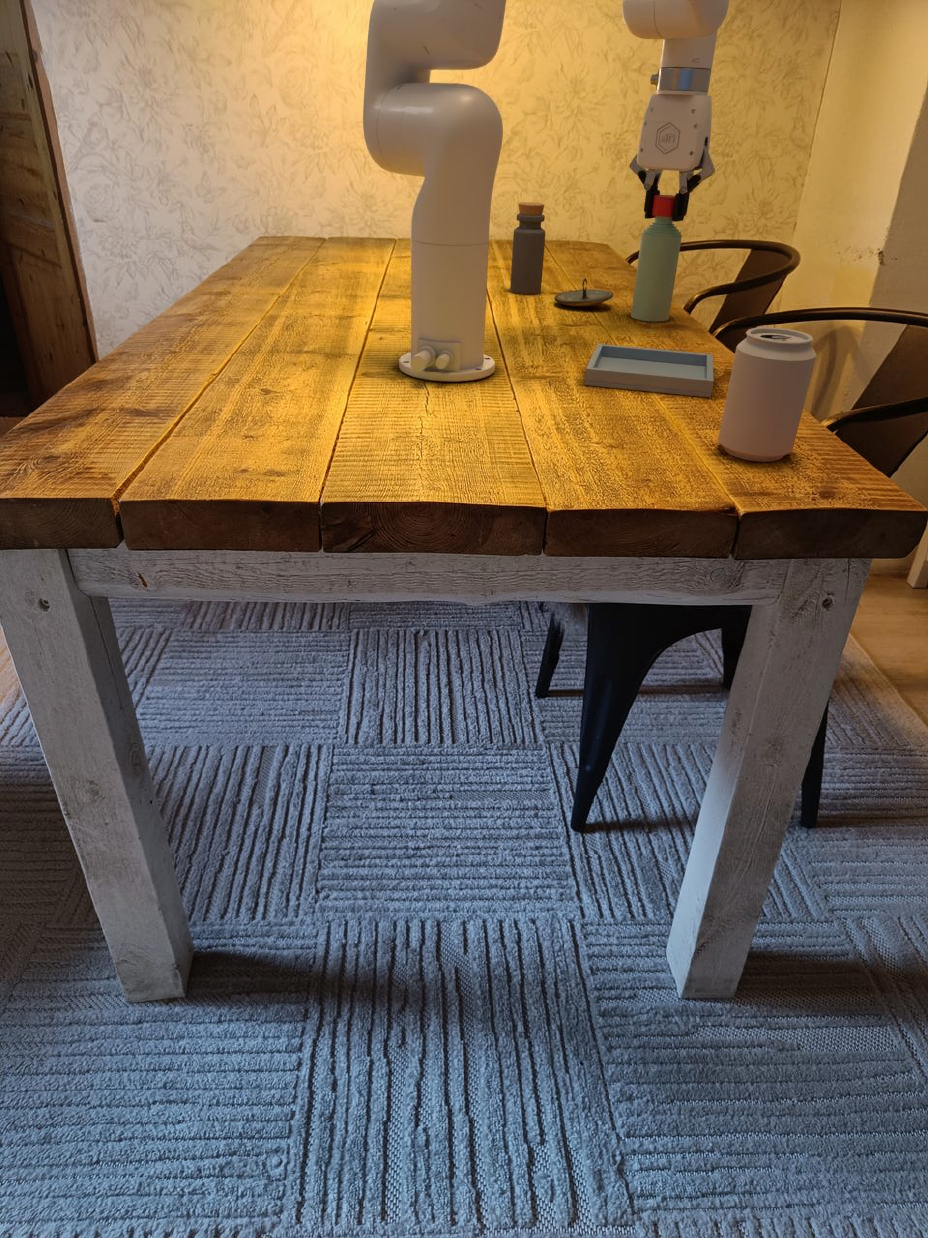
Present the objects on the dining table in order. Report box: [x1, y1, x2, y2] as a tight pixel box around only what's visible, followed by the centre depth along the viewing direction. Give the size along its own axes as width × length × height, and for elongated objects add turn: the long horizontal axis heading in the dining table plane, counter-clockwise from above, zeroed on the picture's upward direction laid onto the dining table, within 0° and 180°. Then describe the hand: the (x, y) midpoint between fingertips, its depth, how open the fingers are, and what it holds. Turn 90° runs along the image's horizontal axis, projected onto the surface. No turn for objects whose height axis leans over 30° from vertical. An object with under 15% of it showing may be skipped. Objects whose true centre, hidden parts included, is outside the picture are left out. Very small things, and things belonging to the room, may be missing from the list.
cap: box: [652, 194, 675, 217], centre depth 132 cm, size 4×4×3 cm
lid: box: [553, 277, 614, 308], centre depth 147 cm, size 11×10×5 cm
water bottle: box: [630, 216, 683, 323], centre depth 137 cm, size 6×6×18 cm
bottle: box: [509, 201, 546, 296], centre depth 153 cm, size 6×6×15 cm
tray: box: [584, 343, 715, 399], centre depth 109 cm, size 14×16×2 cm
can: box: [717, 326, 818, 463], centre depth 83 cm, size 8×8×12 cm
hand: (664, 218), depth 133 cm, fingers closed on cap, 4 cm apart
